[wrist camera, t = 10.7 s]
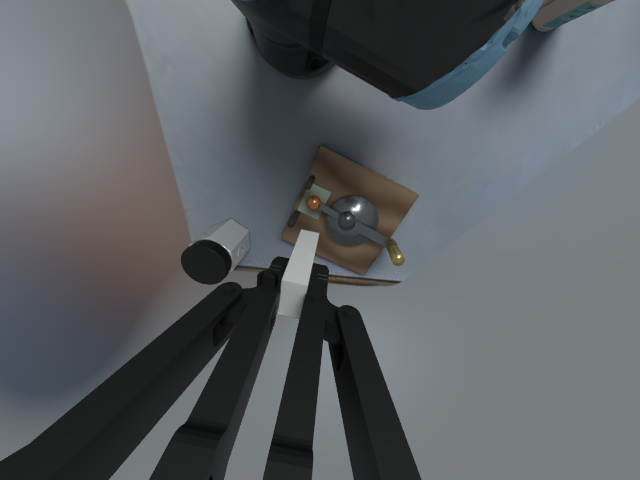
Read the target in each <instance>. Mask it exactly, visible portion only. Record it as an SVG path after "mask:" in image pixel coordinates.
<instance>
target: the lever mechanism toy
mask: <svg viewBox="0 0 640 480" xmlns="http://www.w3.org/2000/svg"><path fill="white" fill-rule="evenodd" d="M311 195H317V196H318V197H319V198H320V199H321V202H322V203H324V204H326V205H328V206H331V205H332V204H333V203H334V202H335V201H336V200H337V199H339V198H341V197H343V196H347V195H359V196H362V197H365V198H367V199H368V200H369V201H371V202H372V204H373V205H374V206H375V208H376V210H377V213H378V217H379V224H378V228H377V231H379V232H381V233H382V234H384V235H386V236H388V237H391V236H392V234H393V233H394V231H395V230H396V228H397V227H398V226H399V224H400V223H401V221H402V220H403V218H404V217H405V215H406V214H407V212H408V211H409V209H410V208H411V207H412V205H413V204H414V202H415V201H416V199H417V198H418V196H419V195H418V194H417V193H415V192H413V191H411V190H409V189H407V188H405V187H403V186H401V185H399V184H397V183H395V182H393V181H391V180H389V179H387V178H385V177H383V176H381V175H379V174H377V173H375V172H373V171H371V170H369V169H367V168H365V167H364V166H362V165H360V164H358V163H356V162H354V161H352V160H350V159H348V158H346V157H344V156H342V155H340V154H338V153H336V152H334V151H332V150H330V149H328V148H326V147H324V146H322V145H321V146H320V148H319V151H318V153H317V155H316V158H315V160H314V162H313V165H312V167H311V169H310V172H309V174H308V176H307V179H306V181H305V183H304V186H303V188H302V190H301V193H300V195H299V197H298V200H297V202H296V204H295V207H294V209H293V212H292V214H291V216H290V219H289V221H288V223H287V226H286V228H285V230H284V233H283V235H282V237H281V239H283V240H286V241H288V242H290V243H292V244H296V242H297V239H298V237H299V234H300V231H301V229H302V230H307V231H312V232H316V233H319V237H318V242H317V247H316V252H315V254H317V255H320V256H322V257H324V258H326V259H329V260H331V261H333V262H336V263H338V264H340V265H342V266H345V267H347V268H349V269H351V270H354V271H356V272H358V273H361V274H363V275H365V274H366V272H367V271H368V269H369V268H370V266H371V265H372V264H373V262H374V261H375V259H376V258H377V256H378V255H379V253H380V252H381V250H382V249H383V247H384V246H382V245H381V244H379V243H377V242H375V241H373V240H371V239H369V240H368V241H366V242H364V243H362V244H359V245H345V244H341V243H339V242H337V241H336V240H335V239H333V238H332V237H331V235H330V234H329V232H328V230H327V227H326V216H327V213H325V212H323V211H321V210H319V209H317V210H310V209H309V208H308V207H307V205H306V200H307V198H308V197H309V196H311Z"/></svg>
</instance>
